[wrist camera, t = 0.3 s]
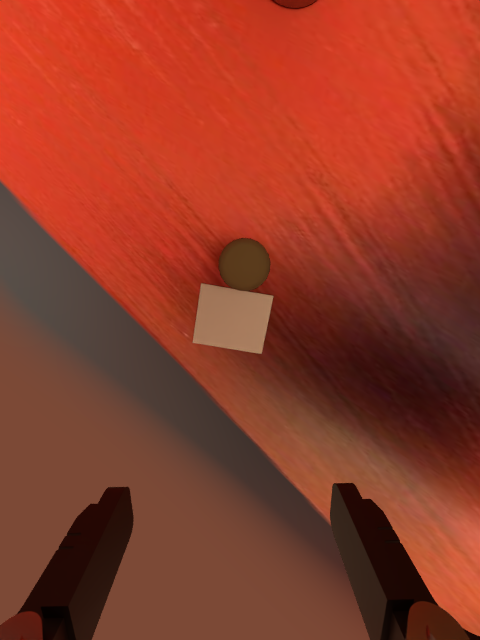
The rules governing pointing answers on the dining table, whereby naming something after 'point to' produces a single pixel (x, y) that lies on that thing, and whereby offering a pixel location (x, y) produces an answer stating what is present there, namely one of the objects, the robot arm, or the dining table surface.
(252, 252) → the cork
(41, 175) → the dining table surface
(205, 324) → the mat
